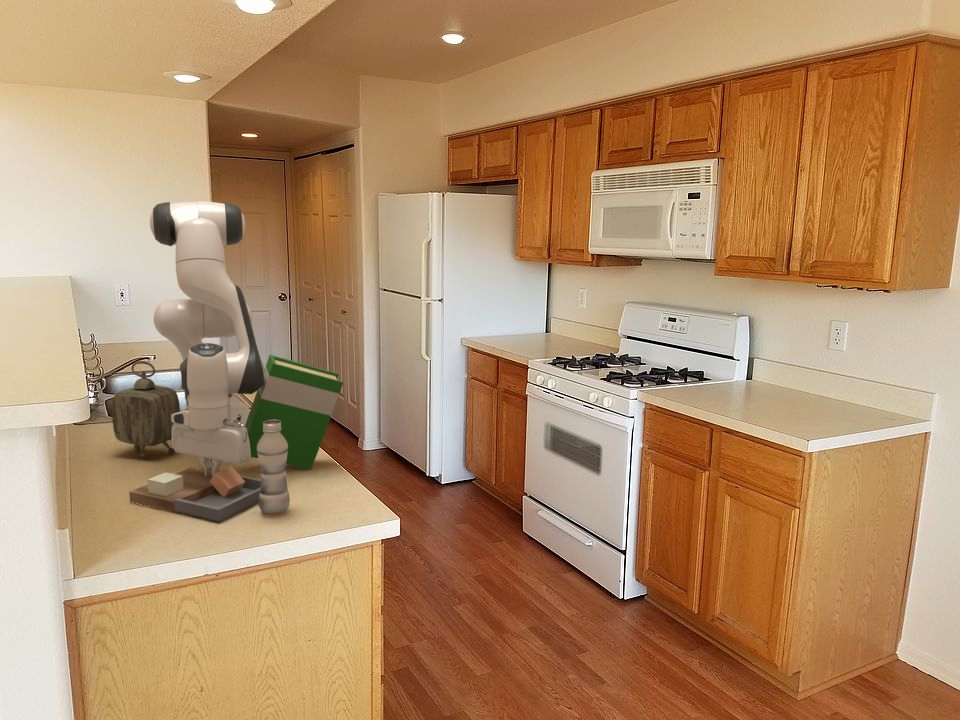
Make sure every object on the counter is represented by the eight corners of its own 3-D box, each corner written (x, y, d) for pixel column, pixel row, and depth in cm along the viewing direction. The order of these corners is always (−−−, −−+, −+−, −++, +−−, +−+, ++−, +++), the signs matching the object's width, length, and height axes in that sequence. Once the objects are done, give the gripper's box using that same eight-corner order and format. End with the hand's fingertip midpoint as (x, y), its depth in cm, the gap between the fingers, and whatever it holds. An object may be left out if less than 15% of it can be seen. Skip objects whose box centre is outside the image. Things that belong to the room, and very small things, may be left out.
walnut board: (191, 477, 176) (191, 467, 176) (234, 486, 171) (234, 475, 171) (130, 502, 160) (129, 491, 160) (175, 513, 155) (174, 502, 155)
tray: (234, 486, 171) (233, 473, 171) (275, 494, 167) (275, 482, 166) (175, 513, 155) (174, 499, 155) (219, 523, 151) (218, 510, 150)
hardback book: (306, 457, 191) (337, 373, 187) (311, 469, 184) (343, 382, 180) (238, 442, 183) (269, 354, 179) (240, 454, 176) (273, 363, 172)
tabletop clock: (182, 453, 194) (177, 360, 189) (159, 463, 185) (153, 366, 180) (136, 447, 197) (130, 356, 193) (111, 457, 189) (104, 362, 184)
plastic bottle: (295, 507, 160) (293, 419, 156) (280, 519, 153) (278, 427, 150) (268, 504, 161) (266, 416, 157) (252, 516, 155) (249, 425, 151)
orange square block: (225, 475, 168) (231, 466, 167) (239, 490, 167) (245, 481, 166) (209, 481, 164) (215, 472, 163) (223, 497, 163) (229, 488, 162)
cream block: (166, 485, 164) (165, 472, 163) (183, 488, 162) (182, 476, 162) (148, 492, 160) (147, 479, 159) (165, 496, 158) (165, 483, 157)
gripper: (256, 419, 162) (258, 479, 165) (186, 408, 170) (189, 465, 173) (236, 426, 157) (238, 488, 159) (165, 414, 165) (168, 473, 167)
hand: (212, 476), depth 166 cm, fingers closed
